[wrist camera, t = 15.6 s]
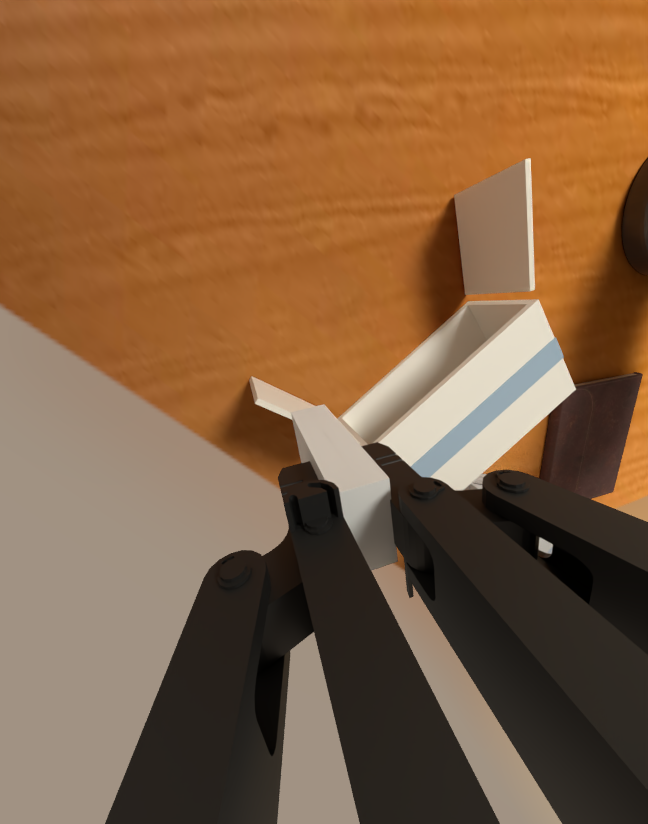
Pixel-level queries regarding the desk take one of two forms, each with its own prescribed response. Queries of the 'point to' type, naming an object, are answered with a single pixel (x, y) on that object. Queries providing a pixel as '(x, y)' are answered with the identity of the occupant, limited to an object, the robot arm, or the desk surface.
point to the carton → (466, 391)
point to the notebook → (590, 435)
